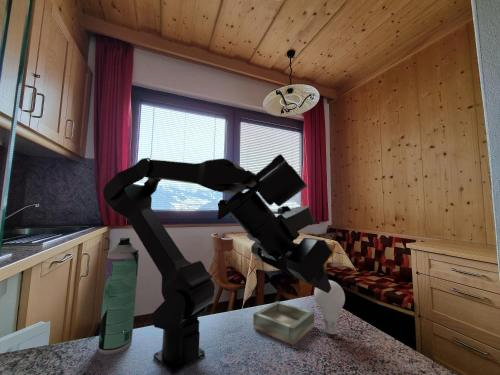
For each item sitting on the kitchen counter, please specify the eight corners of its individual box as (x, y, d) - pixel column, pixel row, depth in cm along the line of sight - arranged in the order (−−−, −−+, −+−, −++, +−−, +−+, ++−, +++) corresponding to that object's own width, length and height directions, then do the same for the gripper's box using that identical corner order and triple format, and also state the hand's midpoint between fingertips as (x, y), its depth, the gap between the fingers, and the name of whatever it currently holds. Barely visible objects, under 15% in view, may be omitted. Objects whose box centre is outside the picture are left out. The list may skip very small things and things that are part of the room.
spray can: (133, 336, 45) (141, 236, 48) (129, 351, 40) (138, 239, 43) (102, 340, 43) (112, 237, 46) (93, 357, 38) (105, 239, 41)
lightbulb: (328, 344, 43) (327, 286, 45) (309, 329, 49) (308, 277, 50) (353, 338, 45) (351, 283, 47) (331, 324, 51) (330, 275, 53)
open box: (253, 328, 49) (253, 313, 49) (277, 313, 57) (277, 301, 57) (293, 345, 43) (293, 328, 43) (314, 326, 50) (314, 312, 51)
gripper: (320, 184, 32) (378, 259, 35) (265, 194, 49) (306, 243, 52) (272, 240, 28) (340, 319, 31) (230, 229, 46) (276, 281, 48)
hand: (311, 282), depth 41 cm, fingers open, 9 cm apart
